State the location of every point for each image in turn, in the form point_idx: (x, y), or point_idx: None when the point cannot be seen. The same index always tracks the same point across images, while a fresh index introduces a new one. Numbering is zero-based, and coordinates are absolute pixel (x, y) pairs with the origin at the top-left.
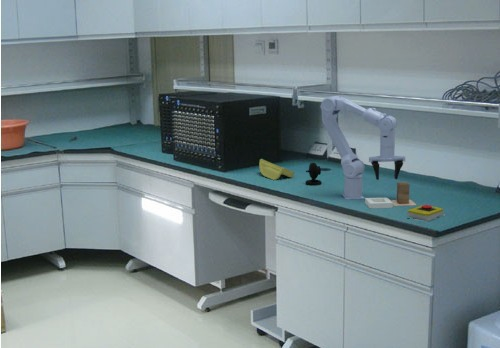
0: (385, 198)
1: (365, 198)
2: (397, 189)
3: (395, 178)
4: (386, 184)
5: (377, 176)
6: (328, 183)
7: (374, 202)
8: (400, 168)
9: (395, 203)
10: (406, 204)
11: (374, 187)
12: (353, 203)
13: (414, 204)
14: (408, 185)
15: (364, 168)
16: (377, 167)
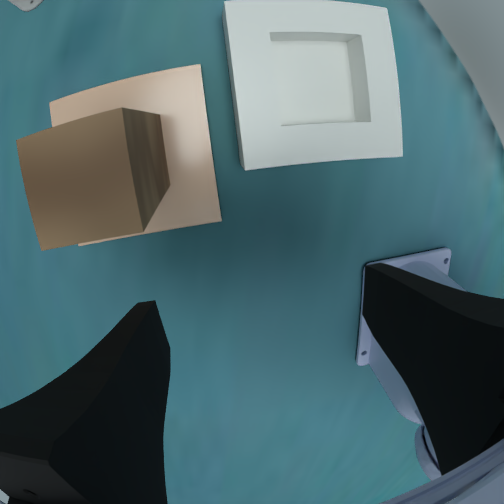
0: (263, 137)
1: (402, 146)
2: (151, 185)
3: (158, 316)
4: (211, 483)
5: (403, 271)
6: (400, 455)
7: (358, 25)
8: (50, 384)
9: (184, 123)
10: (110, 101)
11: (263, 457)
12: (432, 175)
13: (61, 110)
14: (31, 134)
15: (421, 454)
16: (500, 312)
